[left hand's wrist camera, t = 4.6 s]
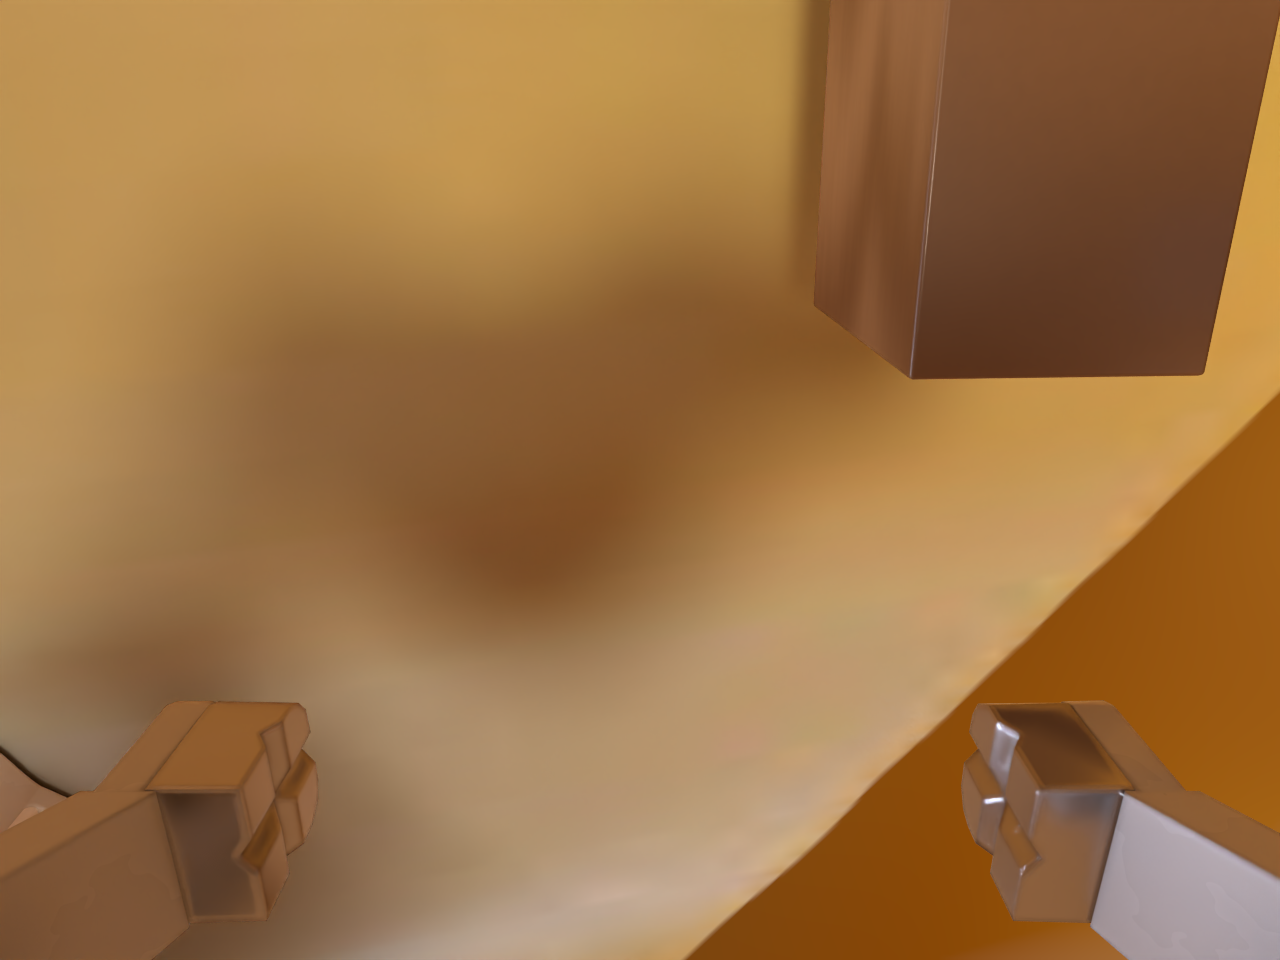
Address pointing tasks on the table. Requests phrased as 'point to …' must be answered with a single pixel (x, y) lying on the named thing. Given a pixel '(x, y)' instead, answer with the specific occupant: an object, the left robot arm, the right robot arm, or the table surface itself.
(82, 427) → the table surface
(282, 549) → the table surface
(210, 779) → the left robot arm
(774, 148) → the table surface
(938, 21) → the box
